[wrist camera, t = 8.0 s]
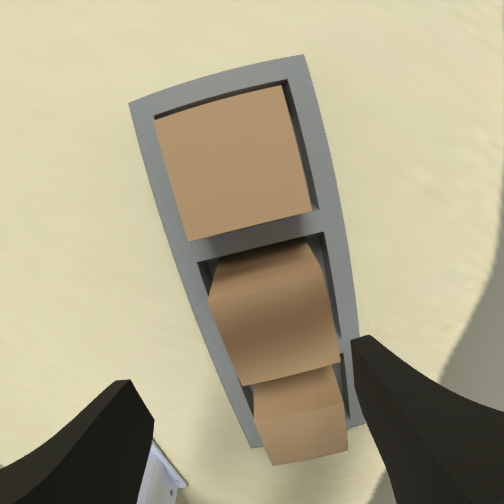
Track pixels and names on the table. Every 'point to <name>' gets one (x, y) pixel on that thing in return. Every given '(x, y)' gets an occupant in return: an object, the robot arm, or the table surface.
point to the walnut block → (273, 311)
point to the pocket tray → (256, 229)
